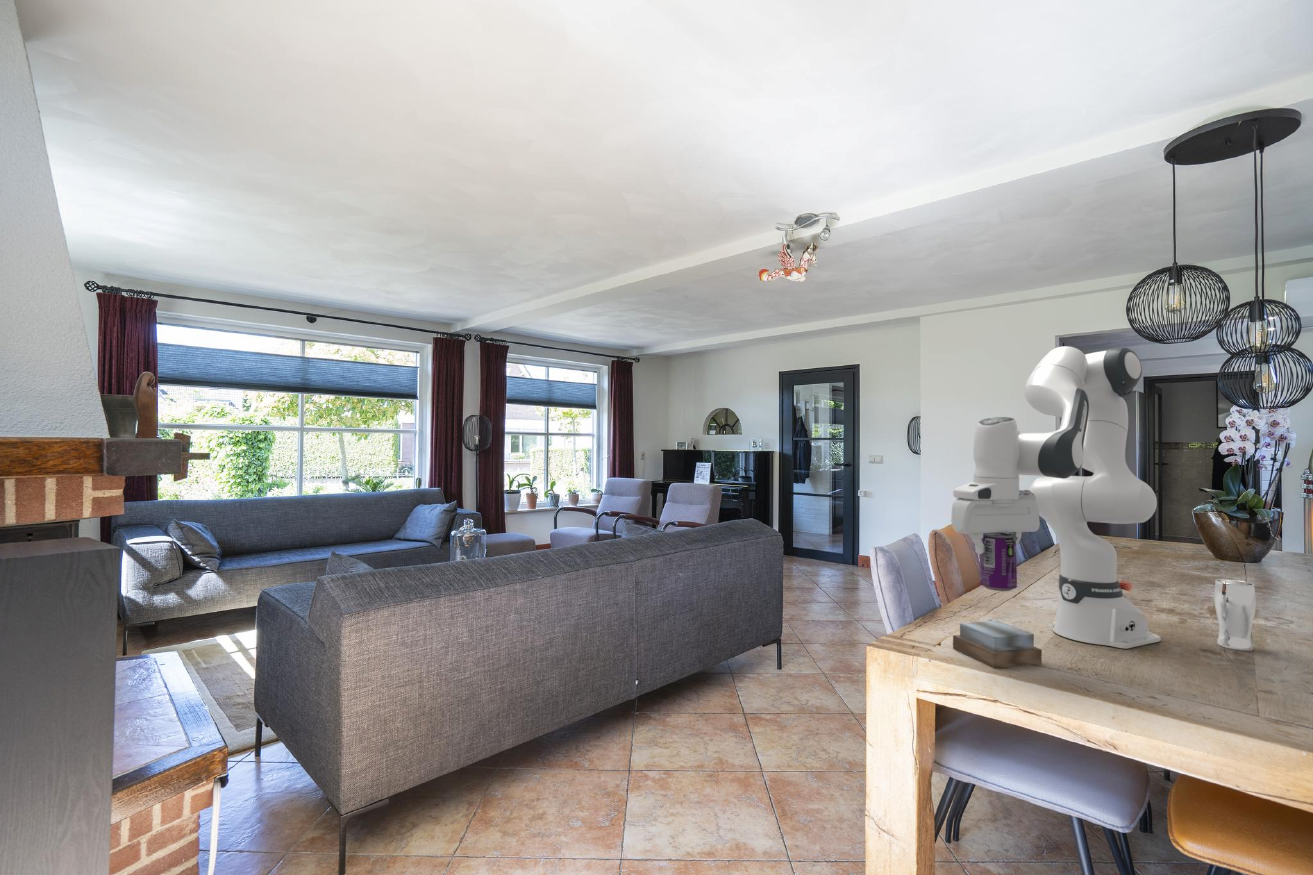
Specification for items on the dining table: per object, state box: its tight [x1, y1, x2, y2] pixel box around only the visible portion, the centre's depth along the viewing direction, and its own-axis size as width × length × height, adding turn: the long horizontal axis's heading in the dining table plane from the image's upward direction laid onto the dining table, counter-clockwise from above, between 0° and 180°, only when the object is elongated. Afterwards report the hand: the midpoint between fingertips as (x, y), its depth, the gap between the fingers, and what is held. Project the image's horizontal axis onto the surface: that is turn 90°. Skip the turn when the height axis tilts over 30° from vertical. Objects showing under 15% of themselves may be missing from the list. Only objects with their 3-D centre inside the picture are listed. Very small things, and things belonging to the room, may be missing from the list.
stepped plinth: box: [952, 620, 1043, 669], centre depth 131 cm, size 12×12×6 cm
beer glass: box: [1213, 578, 1257, 652], centre depth 138 cm, size 7×7×15 cm
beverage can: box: [979, 532, 1018, 592], centre depth 131 cm, size 7×7×12 cm
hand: (996, 552), depth 131 cm, fingers closed on beverage can, 6 cm apart
